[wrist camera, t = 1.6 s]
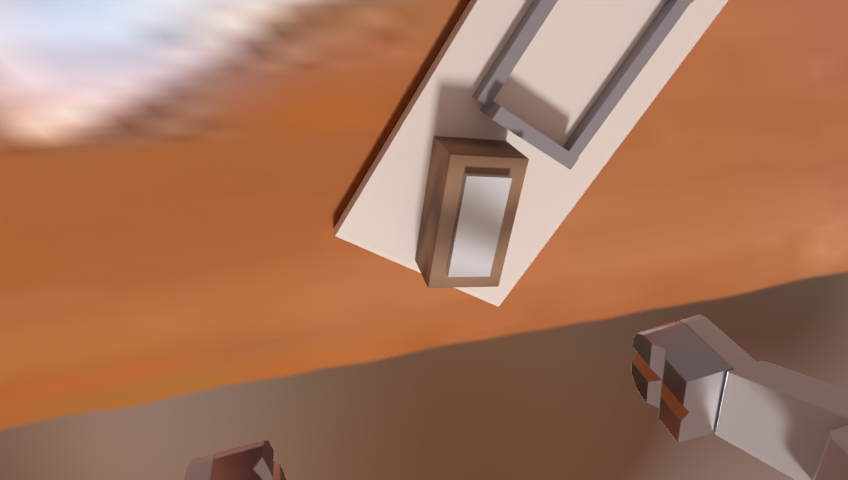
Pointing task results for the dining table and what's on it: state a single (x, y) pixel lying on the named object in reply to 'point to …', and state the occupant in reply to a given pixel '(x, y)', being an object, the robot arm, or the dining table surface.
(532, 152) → the wall panel
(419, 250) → the frame
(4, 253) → the dining table surface
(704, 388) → the robot arm
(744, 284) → the dining table surface
